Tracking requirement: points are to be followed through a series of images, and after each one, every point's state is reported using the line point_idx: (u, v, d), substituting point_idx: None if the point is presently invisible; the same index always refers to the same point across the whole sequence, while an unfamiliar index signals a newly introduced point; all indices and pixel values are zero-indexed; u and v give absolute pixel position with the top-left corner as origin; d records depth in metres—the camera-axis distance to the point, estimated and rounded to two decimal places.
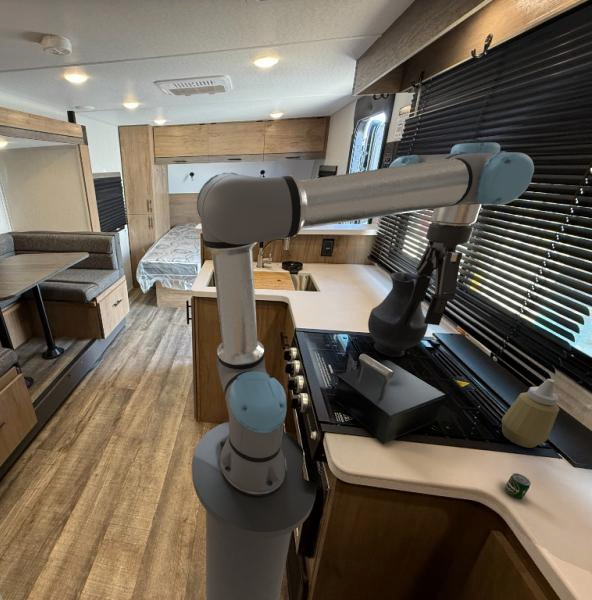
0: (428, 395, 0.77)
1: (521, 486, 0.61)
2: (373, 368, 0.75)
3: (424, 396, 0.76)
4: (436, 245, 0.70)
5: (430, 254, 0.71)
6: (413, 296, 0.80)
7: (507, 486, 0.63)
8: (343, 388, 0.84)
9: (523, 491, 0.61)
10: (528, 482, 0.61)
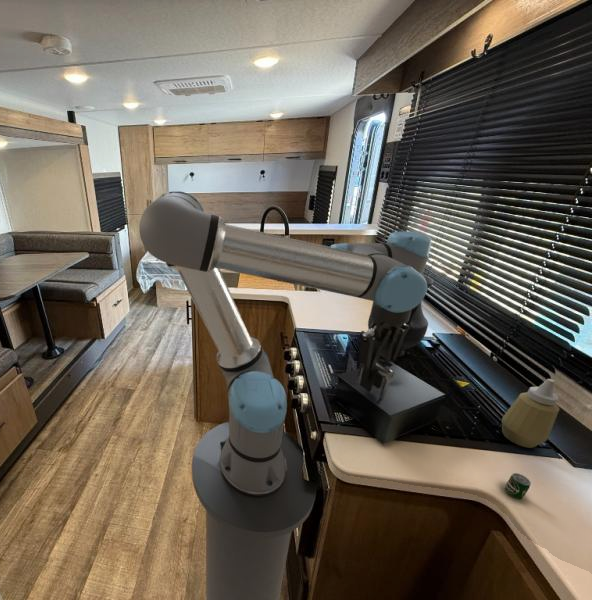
0: (428, 395, 0.77)
1: (521, 486, 0.61)
2: None
3: (424, 396, 0.76)
4: None
5: None
6: None
7: (507, 486, 0.63)
8: (343, 388, 0.84)
9: (523, 491, 0.61)
10: (528, 482, 0.61)
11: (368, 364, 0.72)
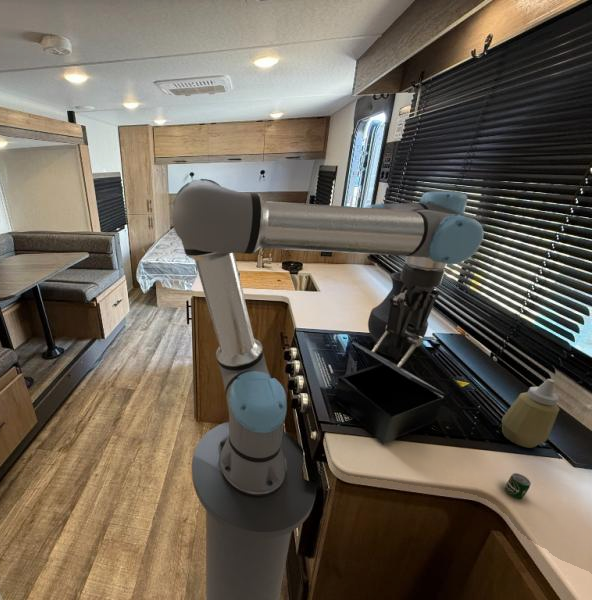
0: (433, 387, 0.76)
1: (521, 486, 0.61)
2: None
3: (430, 386, 0.76)
4: None
5: None
6: None
7: (507, 486, 0.63)
8: (343, 388, 0.84)
9: (523, 491, 0.61)
10: (528, 482, 0.61)
11: (398, 330, 0.71)
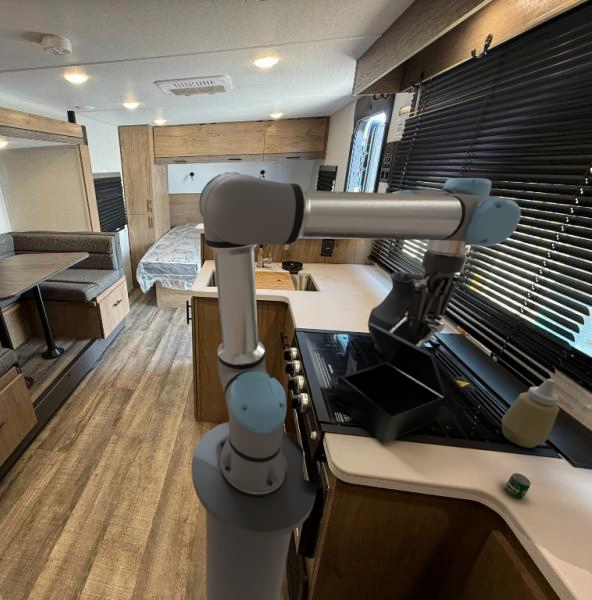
0: None
1: (521, 486, 0.61)
2: None
3: None
4: None
5: None
6: None
7: (507, 486, 0.63)
8: (343, 388, 0.84)
9: (523, 491, 0.61)
10: (528, 482, 0.61)
11: (419, 316, 0.72)
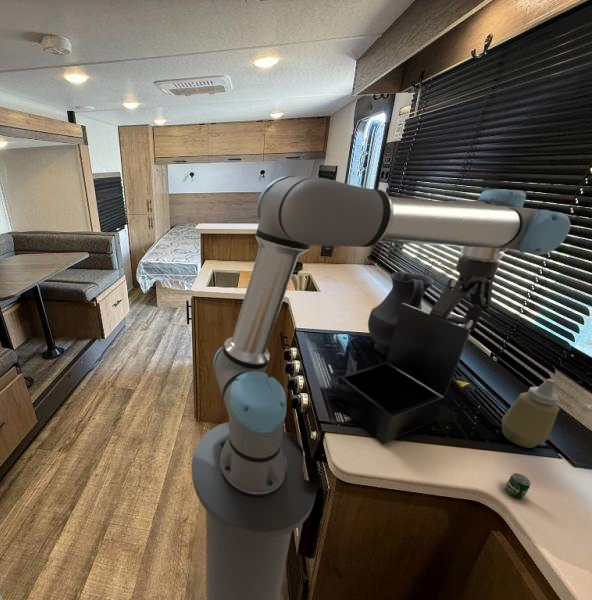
0: None
1: (521, 486, 0.61)
2: (455, 314, 0.79)
3: None
4: None
5: None
6: None
7: (507, 486, 0.63)
8: (343, 388, 0.84)
9: (523, 491, 0.61)
10: (528, 482, 0.61)
11: (443, 312, 0.75)
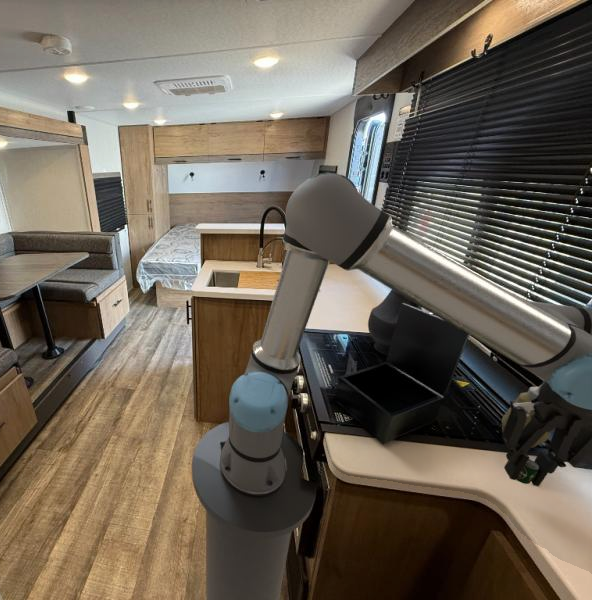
0: None
1: (529, 471, 0.59)
2: None
3: None
4: None
5: None
6: None
7: None
8: (343, 388, 0.84)
9: (531, 475, 0.60)
10: (536, 466, 0.60)
11: (512, 443, 0.59)
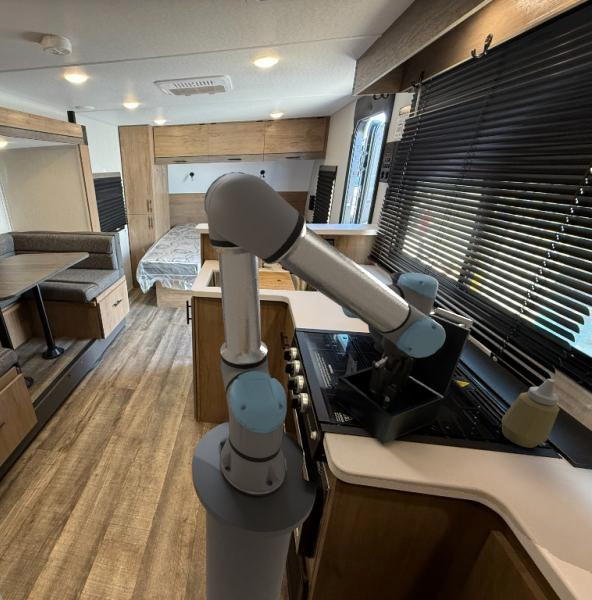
0: None
1: (387, 403, 0.82)
2: (455, 314, 0.79)
3: None
4: None
5: None
6: None
7: None
8: (343, 388, 0.84)
9: (388, 405, 0.82)
10: (387, 398, 0.83)
11: (378, 391, 0.78)
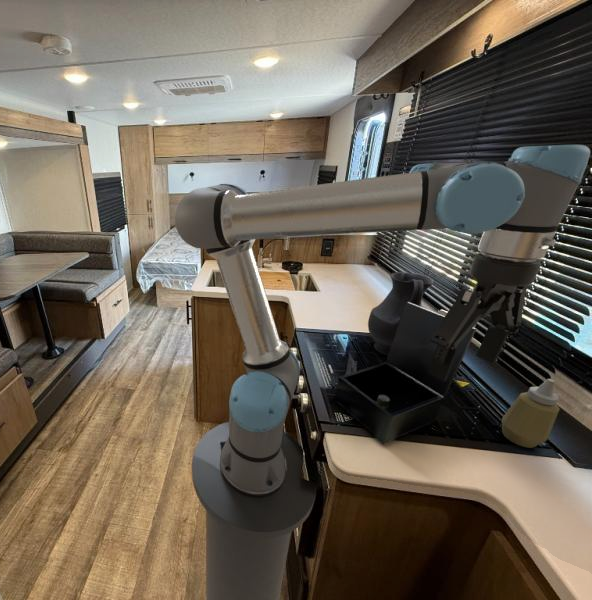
0: None
1: (387, 403, 0.82)
2: None
3: None
4: None
5: None
6: (480, 351, 0.59)
7: None
8: (343, 388, 0.84)
9: None
10: (387, 398, 0.83)
11: (451, 340, 0.49)
